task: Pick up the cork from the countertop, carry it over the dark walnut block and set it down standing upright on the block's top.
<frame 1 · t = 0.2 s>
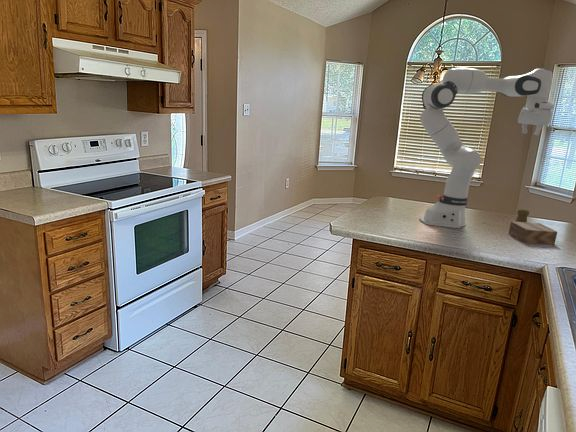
hand: (530, 134, 204), 47 cm above the countertop, tool pointing down, fingers open, 8 cm apart
cork: (519, 230, 212), on the countertop
walnut block: (530, 238, 198), on the countertop
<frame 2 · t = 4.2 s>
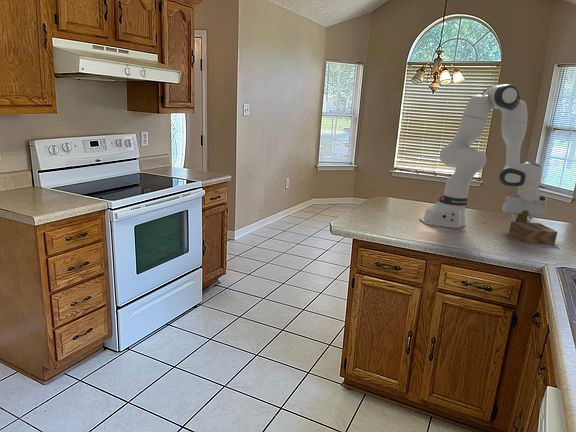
hand: (521, 222, 211), 4 cm above the countertop, tool pointing down, fingers closed on cork, 5 cm apart
cork: (519, 230, 212), on the countertop, touching gripper
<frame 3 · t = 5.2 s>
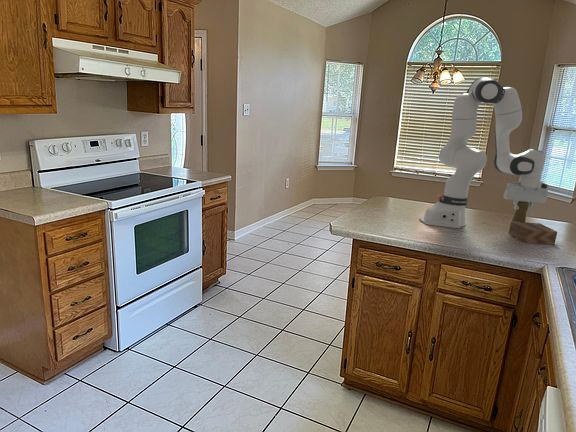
hand: (521, 210, 209), 10 cm above the countertop, tool pointing down, fingers closed on cork, 4 cm apart
cork: (518, 222, 211), point 4 cm above the countertop, touching gripper
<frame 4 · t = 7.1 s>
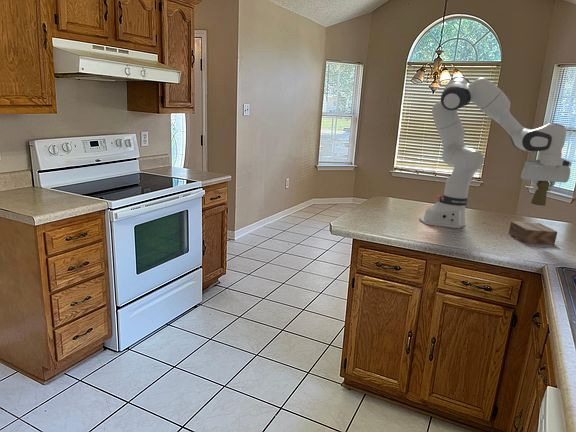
hand: (541, 190, 192), 23 cm above the countertop, tool pointing down, fingers closed on cork, 4 cm apart
cork: (538, 204, 195), point 17 cm above the countertop, touching gripper
when the fingers open (12 cm above the countertop, at t = 9.1 s): cork stays where it is, resting on walnut block.
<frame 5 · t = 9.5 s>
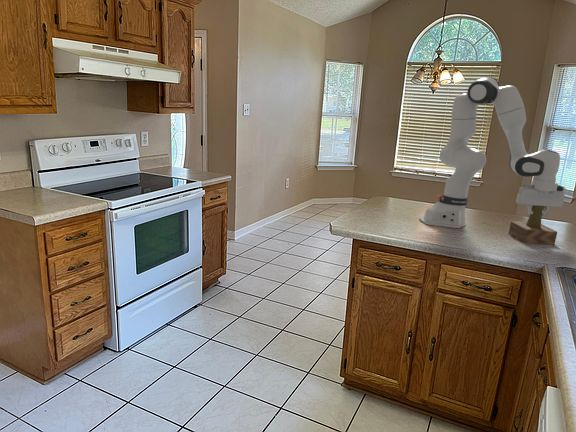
hand: (536, 214, 195), 12 cm above the countertop, tool pointing down, fingers open, 4 cm apart
cork: (533, 226, 197), point 6 cm above the countertop, touching gripper, walnut block
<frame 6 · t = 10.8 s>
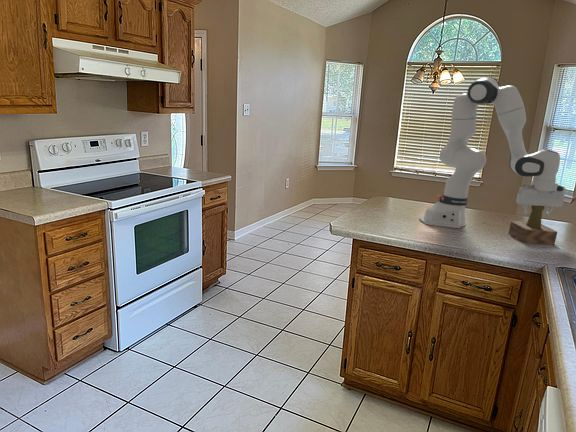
hand: (536, 214, 195), 12 cm above the countertop, tool pointing down, fingers open, 8 cm apart
cork: (533, 226, 197), point 6 cm above the countertop, touching walnut block
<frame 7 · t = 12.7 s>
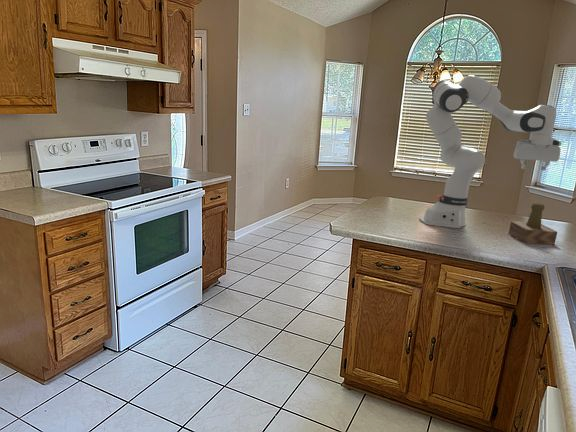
hand: (533, 169, 202), 31 cm above the countertop, tool pointing down, fingers open, 8 cm apart
nothing on the countertop moved.
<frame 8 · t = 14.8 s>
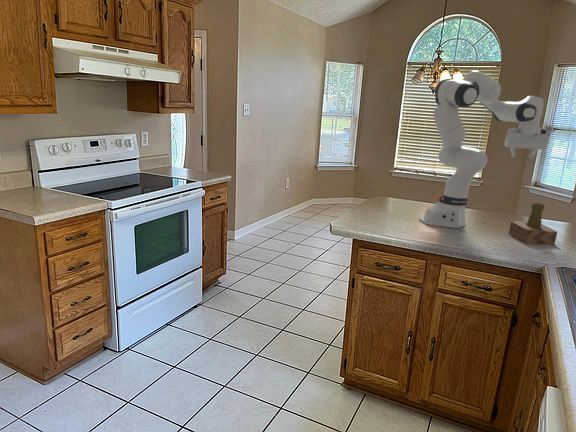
hand: (522, 157, 215), 35 cm above the countertop, tool pointing down, fingers open, 8 cm apart
nothing on the countertop moved.
at the end: cork inside the target area on the walnut block (0.4 cm from its centre), point 5.8 cm above the walnut block's base; cork tilted 0°; the gripper is holding nothing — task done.
